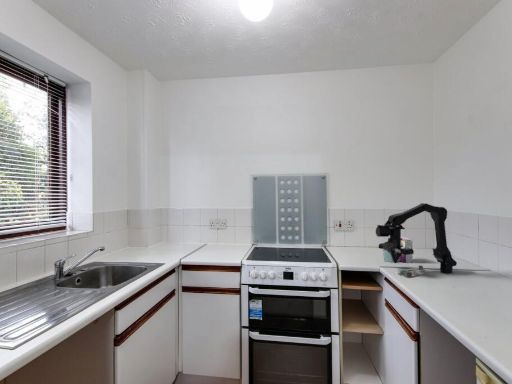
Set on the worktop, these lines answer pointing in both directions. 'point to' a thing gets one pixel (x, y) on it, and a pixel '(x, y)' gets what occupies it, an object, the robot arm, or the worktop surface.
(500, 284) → the worktop surface
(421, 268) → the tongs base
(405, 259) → the candy bar box
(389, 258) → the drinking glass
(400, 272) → the hinged jaw
